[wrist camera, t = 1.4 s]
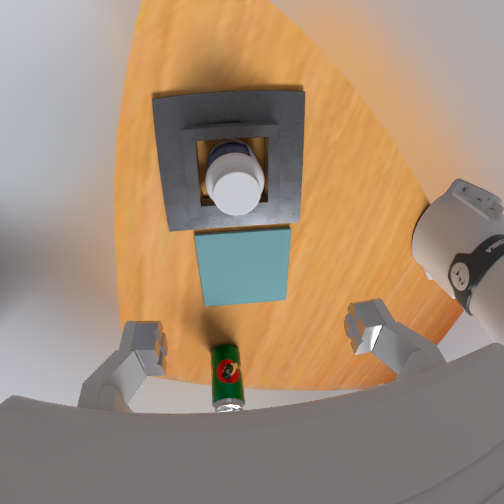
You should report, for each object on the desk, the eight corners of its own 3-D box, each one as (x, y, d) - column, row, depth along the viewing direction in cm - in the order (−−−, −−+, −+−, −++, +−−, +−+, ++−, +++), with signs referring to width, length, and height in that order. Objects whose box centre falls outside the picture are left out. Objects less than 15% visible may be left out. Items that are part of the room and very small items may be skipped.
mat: (289, 227, 37) (290, 229, 37) (285, 297, 44) (285, 299, 43) (194, 234, 36) (194, 236, 36) (205, 304, 43) (205, 306, 42)
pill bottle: (197, 163, 31) (190, 197, 23) (229, 128, 29) (234, 149, 21) (232, 192, 34) (238, 234, 26) (265, 159, 32) (283, 191, 24)
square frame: (303, 91, 28) (314, 93, 24) (297, 220, 37) (306, 236, 33) (153, 98, 26) (144, 101, 23) (170, 229, 35) (165, 246, 32)
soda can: (205, 348, 49) (206, 408, 39) (230, 338, 48) (235, 400, 38) (220, 362, 52) (224, 419, 42) (244, 353, 51) (251, 411, 41)
